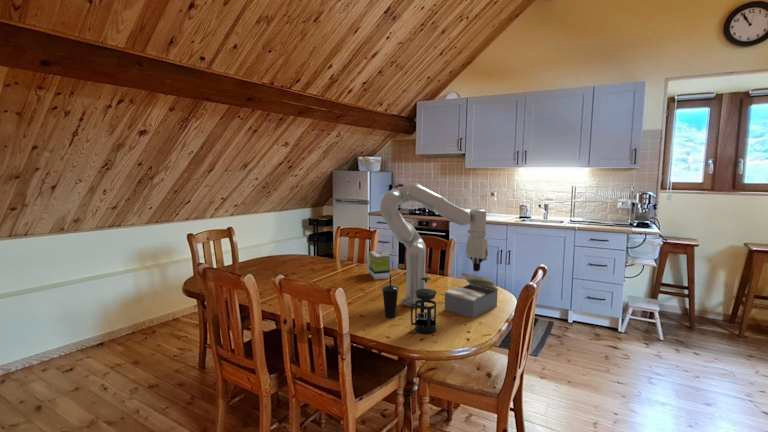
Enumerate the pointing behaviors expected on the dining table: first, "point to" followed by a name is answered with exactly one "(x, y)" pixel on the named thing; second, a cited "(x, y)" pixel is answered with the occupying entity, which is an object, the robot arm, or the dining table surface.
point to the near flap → (465, 293)
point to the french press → (425, 318)
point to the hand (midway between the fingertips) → (476, 270)
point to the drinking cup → (390, 300)
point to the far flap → (479, 281)
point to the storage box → (472, 302)
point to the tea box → (379, 264)
